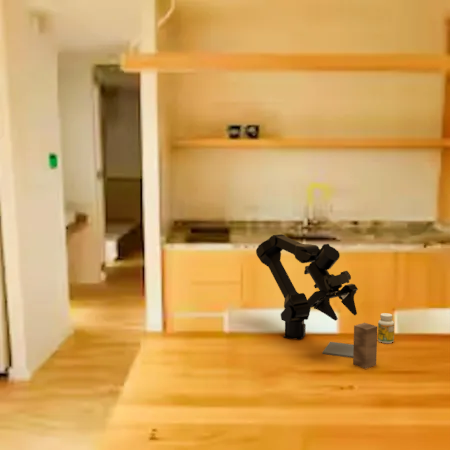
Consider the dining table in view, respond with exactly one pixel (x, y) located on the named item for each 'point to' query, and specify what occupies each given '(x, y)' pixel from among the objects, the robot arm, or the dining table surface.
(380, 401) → the dining table surface
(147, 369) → the dining table surface
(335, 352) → the charcoal mat
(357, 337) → the walnut block
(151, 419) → the dining table surface
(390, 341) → the supplement bottle
